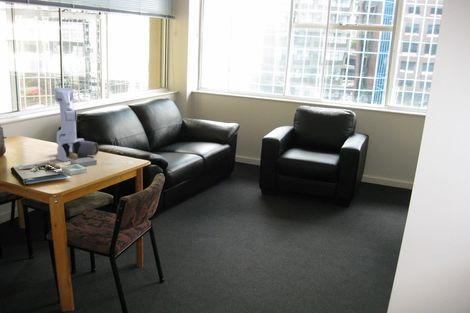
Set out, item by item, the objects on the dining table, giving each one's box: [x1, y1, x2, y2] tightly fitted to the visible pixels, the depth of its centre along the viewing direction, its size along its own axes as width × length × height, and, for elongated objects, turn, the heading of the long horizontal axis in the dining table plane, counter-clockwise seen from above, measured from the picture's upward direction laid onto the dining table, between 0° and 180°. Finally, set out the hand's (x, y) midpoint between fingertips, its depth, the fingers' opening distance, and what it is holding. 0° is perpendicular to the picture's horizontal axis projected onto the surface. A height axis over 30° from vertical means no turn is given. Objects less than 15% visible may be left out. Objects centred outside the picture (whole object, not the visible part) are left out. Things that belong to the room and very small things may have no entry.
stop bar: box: [46, 161, 61, 169], centre depth 256 cm, size 12×2×3 cm, turn 47°
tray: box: [61, 164, 88, 176], centre depth 255 cm, size 10×9×2 cm
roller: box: [66, 151, 79, 161], centre depth 254 cm, size 6×4×4 cm, turn 47°
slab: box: [70, 156, 98, 167], centre depth 270 cm, size 9×12×3 cm
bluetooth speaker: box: [72, 140, 100, 158], centre depth 288 cm, size 23×9×10 cm, turn 76°
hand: (71, 156), depth 254 cm, fingers closed on roller, 4 cm apart
